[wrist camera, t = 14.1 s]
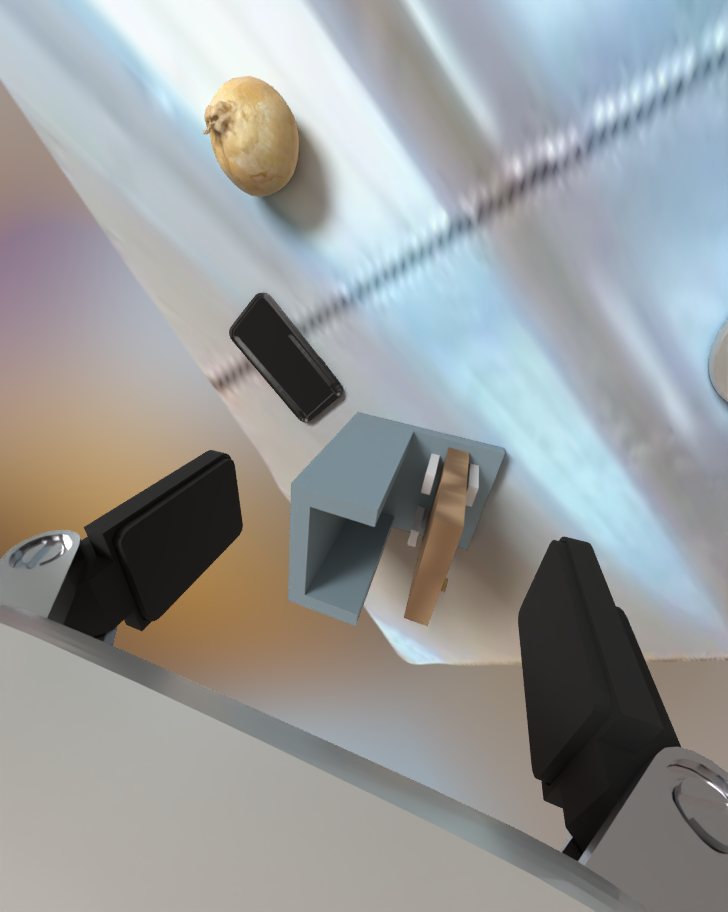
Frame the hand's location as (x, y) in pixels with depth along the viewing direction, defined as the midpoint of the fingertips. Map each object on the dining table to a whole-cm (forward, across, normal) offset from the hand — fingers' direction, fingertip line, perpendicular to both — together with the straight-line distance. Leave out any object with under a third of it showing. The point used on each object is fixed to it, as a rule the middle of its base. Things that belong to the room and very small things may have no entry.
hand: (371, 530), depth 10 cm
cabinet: (+31, +2, +17) cm, 35 cm away
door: (+29, -2, +17) cm, 34 cm away
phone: (+31, +20, +4) cm, 37 cm away
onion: (+31, +21, -16) cm, 40 cm away
